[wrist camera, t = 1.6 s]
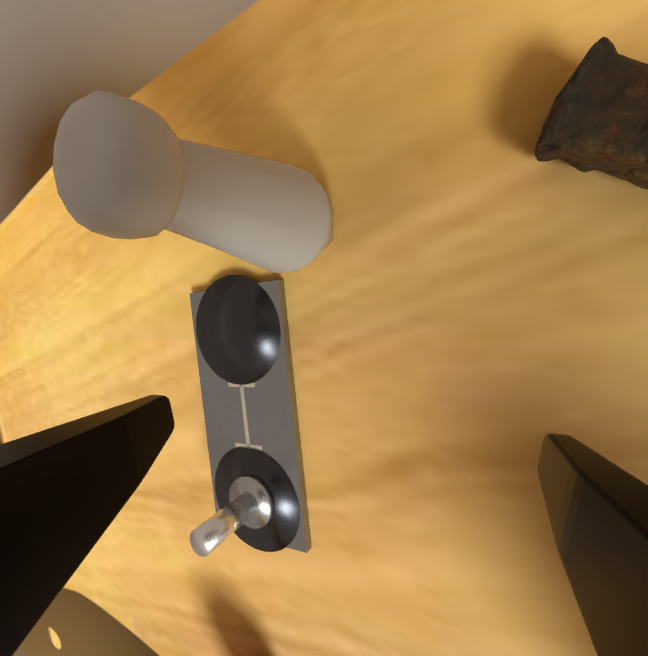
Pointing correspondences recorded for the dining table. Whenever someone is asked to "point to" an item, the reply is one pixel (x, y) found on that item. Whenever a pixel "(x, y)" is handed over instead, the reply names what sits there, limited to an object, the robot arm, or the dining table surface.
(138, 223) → the salt shaker
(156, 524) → the dining table surface
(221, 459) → the plate
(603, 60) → the hand tool
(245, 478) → the fixed steel pin
